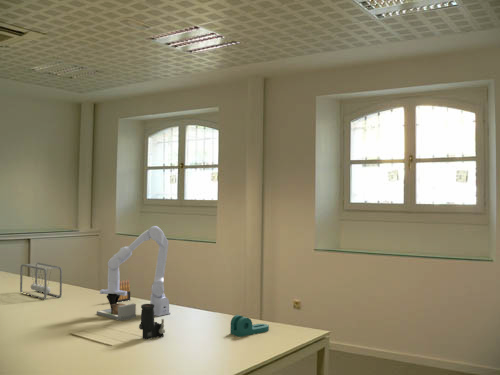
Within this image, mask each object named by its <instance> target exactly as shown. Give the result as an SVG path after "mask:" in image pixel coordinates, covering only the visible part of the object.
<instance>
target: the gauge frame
mask: <svg viewBox="0 0 500 375" xmlns="http://www.w3.org/2000/svg"><path fill="white" fill-rule="evenodd" d="M136 307H137V304H136V303H128V304H126V305H122V306H118V314H114V313H113V314H111V308H107V309H101V310H97V311H96V315H98V316H101V317H105V318H109V319H113V320H116V321H120V322H121V321H127V320H131V319H135V318H137V314H136V313H137V312H136V311H137V308H136Z"/></svg>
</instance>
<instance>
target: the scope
mask: <svg viewBox="0 0 500 375" xmlns="http://www.w3.org/2000/svg"><path fill="white" fill-rule="evenodd" d="M140 308H141V312H140V314H141V315H140V324H139V325H138V329H139V330H141V331H142V337H141V338H142V340H151V338H152V339H154V337H155V338H164V336H165V335H164V334H165V332H166V331H165V330H166V329H164V327H165V324H164V323H165V319H164V318H161V323H158V322H157V321H155V315H154V309H153V308H154V304H150V303H144V304H141V305H140ZM161 336H162V337H161Z"/></svg>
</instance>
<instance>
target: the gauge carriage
mask: <svg viewBox="0 0 500 375" xmlns="http://www.w3.org/2000/svg"><path fill="white" fill-rule="evenodd" d="M122 305H127V304H125V303H122V302H118V303H117V304H112V305H111V307H110V309H111V314H113V313H114V314H118V306H122Z"/></svg>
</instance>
